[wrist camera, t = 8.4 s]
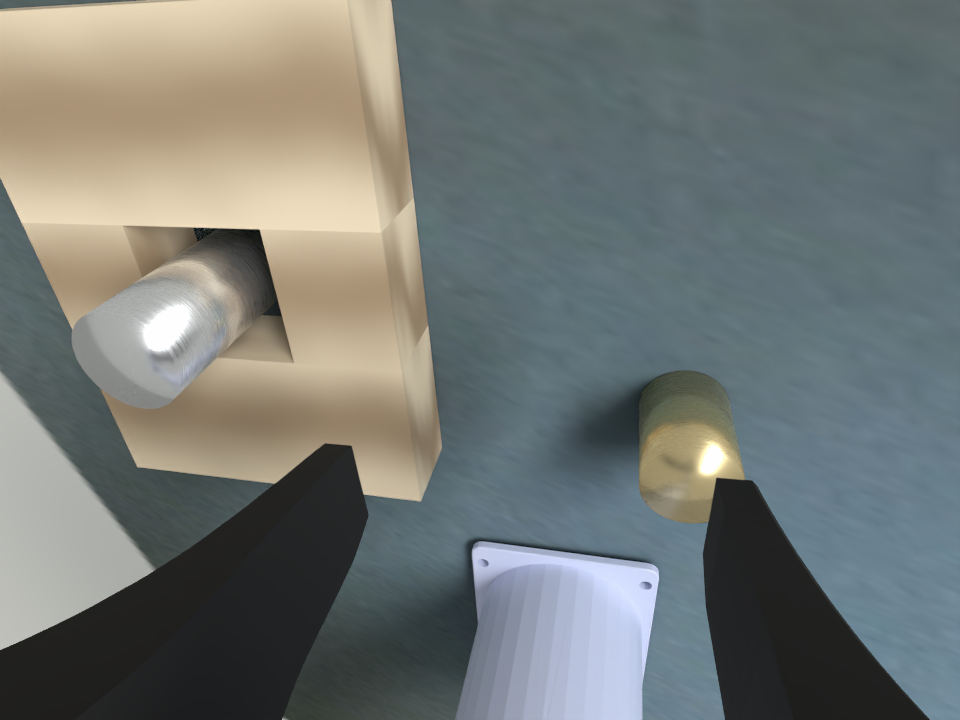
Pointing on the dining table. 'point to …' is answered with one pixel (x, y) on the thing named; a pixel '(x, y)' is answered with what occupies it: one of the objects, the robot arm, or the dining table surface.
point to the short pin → (685, 445)
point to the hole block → (236, 215)
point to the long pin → (176, 319)
